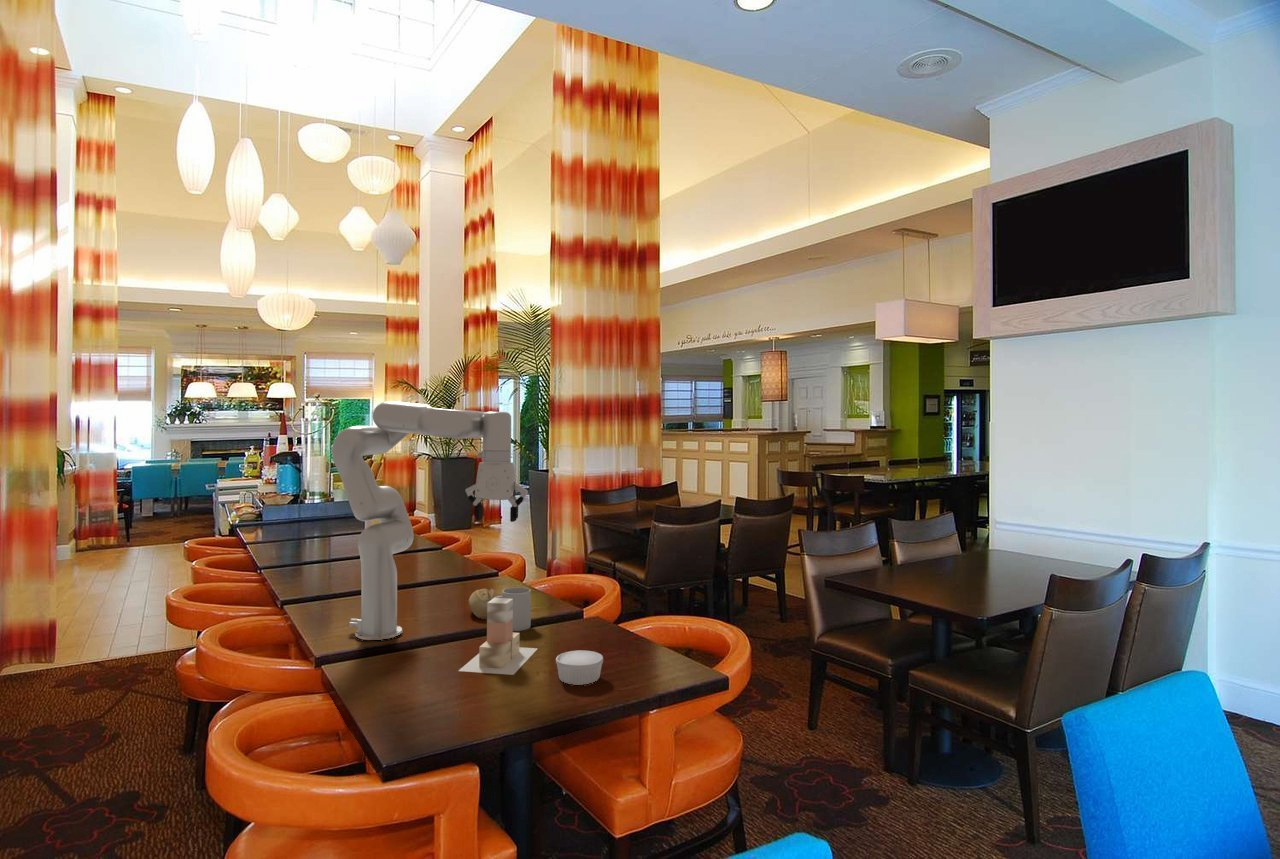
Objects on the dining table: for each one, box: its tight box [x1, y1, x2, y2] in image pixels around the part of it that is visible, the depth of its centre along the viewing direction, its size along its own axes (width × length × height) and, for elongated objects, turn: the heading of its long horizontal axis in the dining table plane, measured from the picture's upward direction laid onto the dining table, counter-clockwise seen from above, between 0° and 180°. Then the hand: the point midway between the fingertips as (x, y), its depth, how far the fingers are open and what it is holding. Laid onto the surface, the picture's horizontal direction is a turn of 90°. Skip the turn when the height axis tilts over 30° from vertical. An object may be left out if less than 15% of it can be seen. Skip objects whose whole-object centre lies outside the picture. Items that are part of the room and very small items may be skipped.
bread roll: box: [468, 587, 500, 620], centre depth 223 cm, size 10×15×8 cm, turn 23°
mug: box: [494, 586, 532, 632], centre depth 208 cm, size 12×8×11 cm
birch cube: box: [486, 598, 513, 623], centre depth 179 cm, size 5×5×5 cm
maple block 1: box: [478, 640, 511, 669], centre depth 176 cm, size 6×6×5 cm
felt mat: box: [458, 646, 539, 676], centre depth 180 cm, size 14×20×1 cm
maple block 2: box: [509, 631, 521, 659], centre depth 183 cm, size 6×6×5 cm
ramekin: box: [555, 649, 604, 686], centre depth 167 cm, size 11×11×5 cm
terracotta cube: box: [486, 618, 514, 643], centre depth 180 cm, size 5×5×5 cm
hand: (496, 520), depth 190 cm, fingers open, 9 cm apart
